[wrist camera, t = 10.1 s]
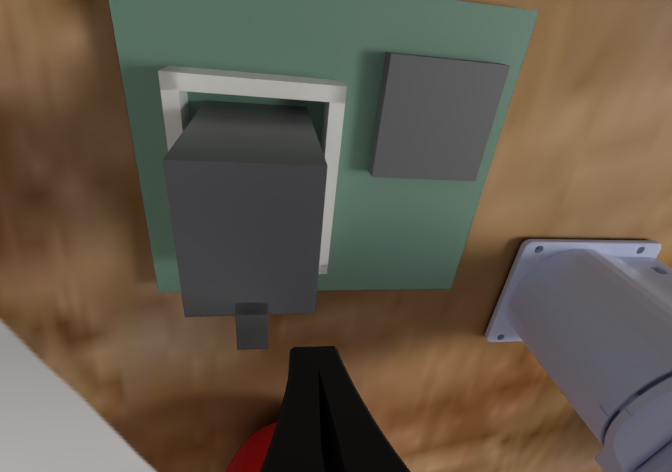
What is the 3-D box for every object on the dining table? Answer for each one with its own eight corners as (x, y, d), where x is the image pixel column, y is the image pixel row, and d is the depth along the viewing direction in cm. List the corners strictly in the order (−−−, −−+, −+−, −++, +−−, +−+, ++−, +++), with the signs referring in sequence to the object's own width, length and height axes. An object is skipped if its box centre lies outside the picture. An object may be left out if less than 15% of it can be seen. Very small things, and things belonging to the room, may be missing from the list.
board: (524, 10, 16) (563, 11, 14) (444, 278, 23) (462, 305, 21) (111, -43, 13) (81, -53, 11) (163, 280, 20) (150, 312, 18)
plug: (306, 106, 16) (327, 166, 10) (299, 240, 19) (312, 346, 13) (206, 100, 15) (162, 159, 9) (216, 240, 18) (189, 352, 12)
